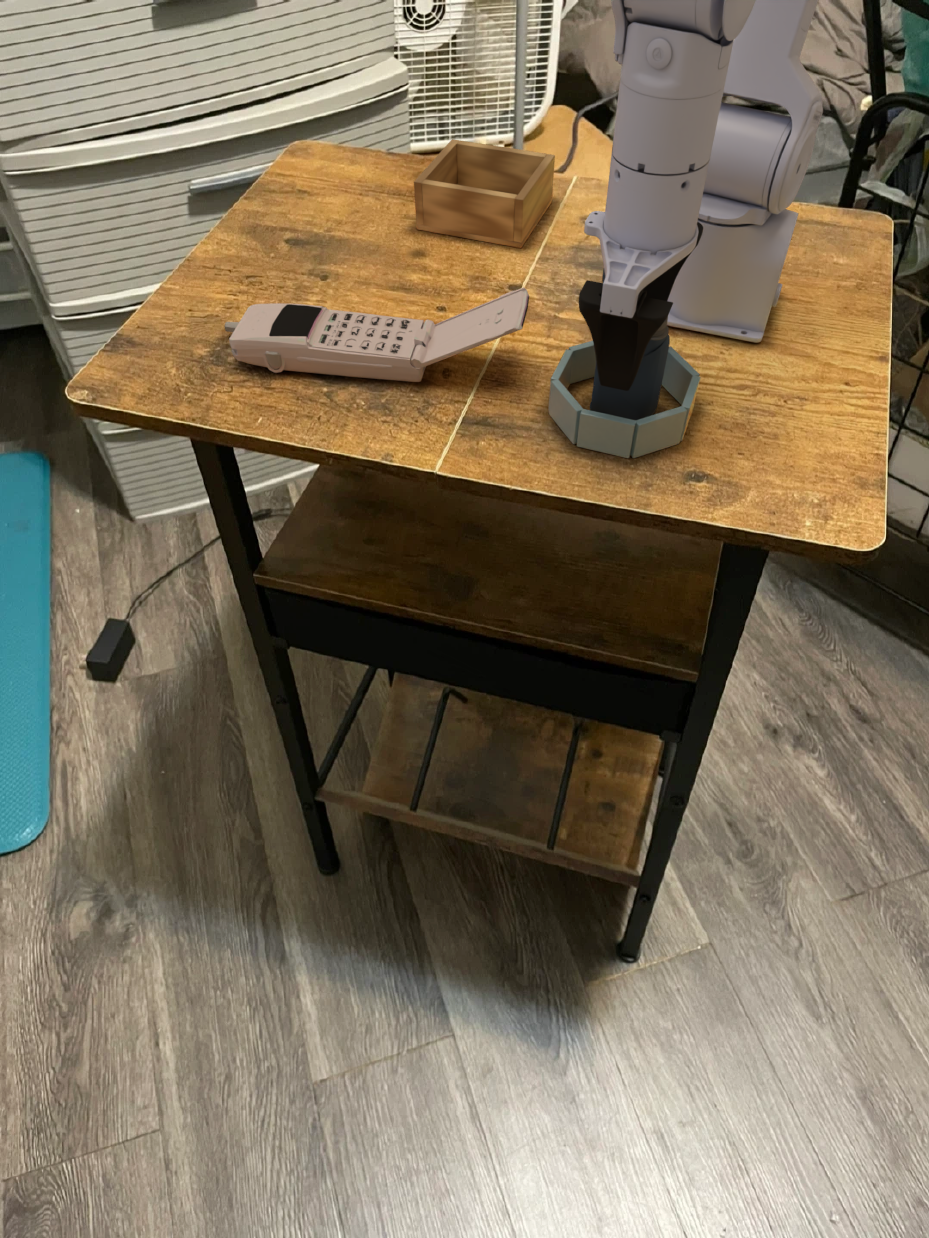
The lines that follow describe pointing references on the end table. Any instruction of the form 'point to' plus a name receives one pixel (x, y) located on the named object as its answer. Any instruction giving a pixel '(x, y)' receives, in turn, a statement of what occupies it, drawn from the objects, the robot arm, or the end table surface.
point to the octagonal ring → (613, 430)
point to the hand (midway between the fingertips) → (629, 354)
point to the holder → (484, 192)
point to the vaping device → (636, 382)
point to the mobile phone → (366, 338)
